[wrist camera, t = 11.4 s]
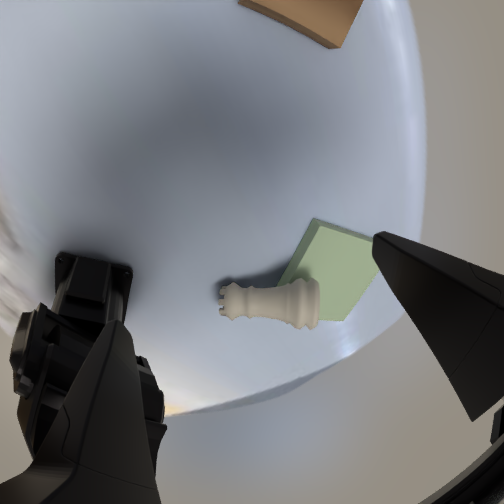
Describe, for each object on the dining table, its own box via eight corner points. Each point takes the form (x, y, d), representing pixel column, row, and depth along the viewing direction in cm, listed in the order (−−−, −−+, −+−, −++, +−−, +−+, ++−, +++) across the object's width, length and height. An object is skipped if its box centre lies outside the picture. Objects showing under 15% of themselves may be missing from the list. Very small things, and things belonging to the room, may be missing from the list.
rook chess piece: (322, 283, 21) (215, 280, 22) (317, 338, 21) (216, 334, 22) (315, 272, 25) (226, 270, 26) (312, 319, 26) (226, 316, 27)
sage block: (335, 309, 33) (343, 321, 31) (262, 302, 28) (268, 316, 27) (381, 239, 28) (392, 249, 27) (309, 214, 24) (320, 225, 22)
